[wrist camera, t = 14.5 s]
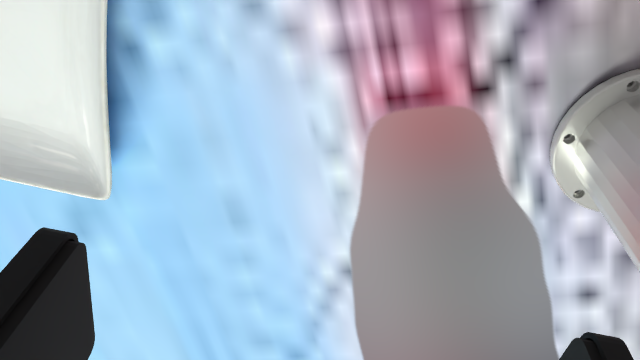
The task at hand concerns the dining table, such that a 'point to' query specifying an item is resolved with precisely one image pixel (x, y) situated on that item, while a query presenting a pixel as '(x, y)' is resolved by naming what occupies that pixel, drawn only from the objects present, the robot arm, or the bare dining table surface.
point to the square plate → (55, 96)
